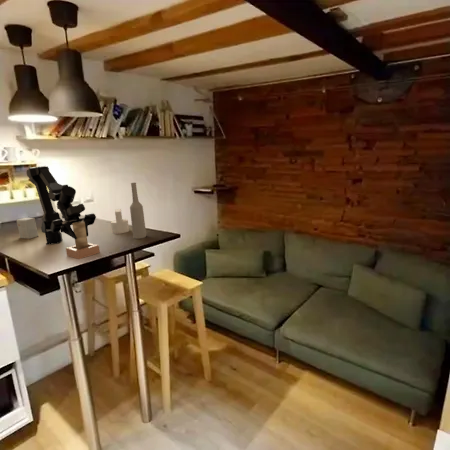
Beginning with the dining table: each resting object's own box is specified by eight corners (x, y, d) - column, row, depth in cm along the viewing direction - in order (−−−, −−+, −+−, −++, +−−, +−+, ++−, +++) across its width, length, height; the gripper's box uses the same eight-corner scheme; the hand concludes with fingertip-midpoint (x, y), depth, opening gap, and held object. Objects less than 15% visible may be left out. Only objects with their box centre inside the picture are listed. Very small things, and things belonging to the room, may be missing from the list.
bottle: (139, 234, 178) (133, 182, 172) (149, 235, 175) (143, 182, 168) (130, 238, 173) (123, 183, 166) (140, 239, 169) (133, 183, 163)
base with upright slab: (129, 232, 185) (126, 211, 182) (112, 234, 182) (109, 212, 180) (128, 228, 193) (126, 208, 190) (112, 230, 191) (109, 210, 188)
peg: (74, 252, 148) (69, 224, 145) (80, 249, 153) (76, 221, 150) (85, 252, 147) (80, 224, 144) (90, 249, 152) (86, 221, 149)
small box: (38, 236, 188) (35, 217, 185) (29, 239, 183) (25, 220, 180) (29, 235, 191) (25, 217, 189) (19, 238, 186) (15, 219, 184)
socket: (79, 259, 143) (77, 251, 142) (66, 255, 149) (65, 248, 148) (99, 252, 151) (98, 245, 150) (87, 249, 157) (86, 242, 156)
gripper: (48, 202, 140) (63, 231, 136) (91, 195, 154) (106, 221, 149) (44, 218, 148) (59, 246, 143) (85, 210, 161) (100, 236, 156)
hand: (82, 237), depth 147 cm, fingers closed on peg, 5 cm apart
